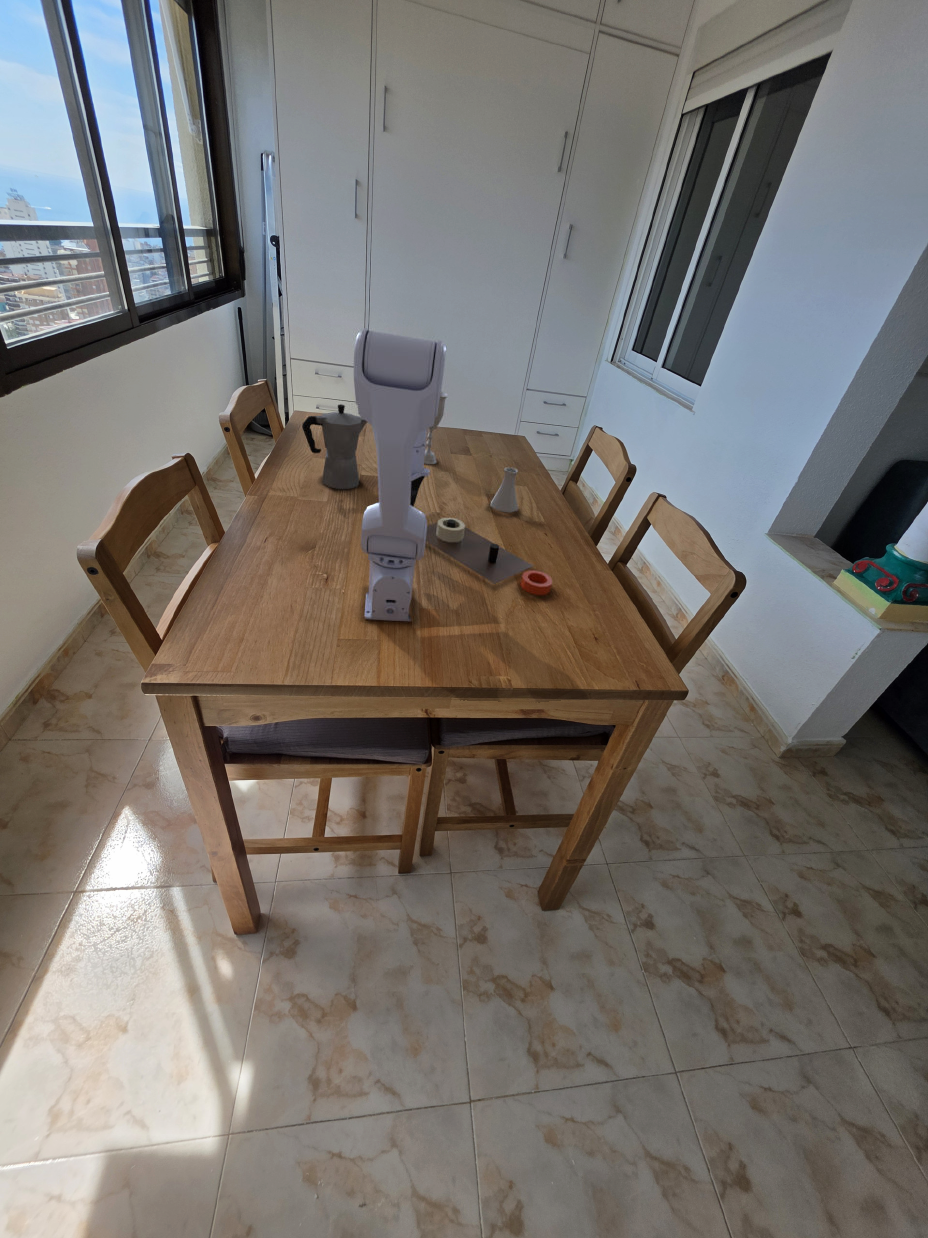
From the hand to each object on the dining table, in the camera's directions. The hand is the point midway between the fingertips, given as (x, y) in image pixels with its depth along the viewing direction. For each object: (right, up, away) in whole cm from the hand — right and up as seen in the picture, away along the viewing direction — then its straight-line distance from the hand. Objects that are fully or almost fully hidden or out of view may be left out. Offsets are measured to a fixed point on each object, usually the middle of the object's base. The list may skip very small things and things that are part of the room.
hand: (402, 515), depth 97 cm
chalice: (+1, +25, +51) cm, 57 cm away
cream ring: (+8, -1, +15) cm, 17 cm away
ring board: (+12, -5, +12) cm, 18 cm away
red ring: (+25, -14, +4) cm, 28 cm away
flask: (+21, +7, +32) cm, 39 cm away
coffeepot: (-19, +14, +31) cm, 39 cm away
